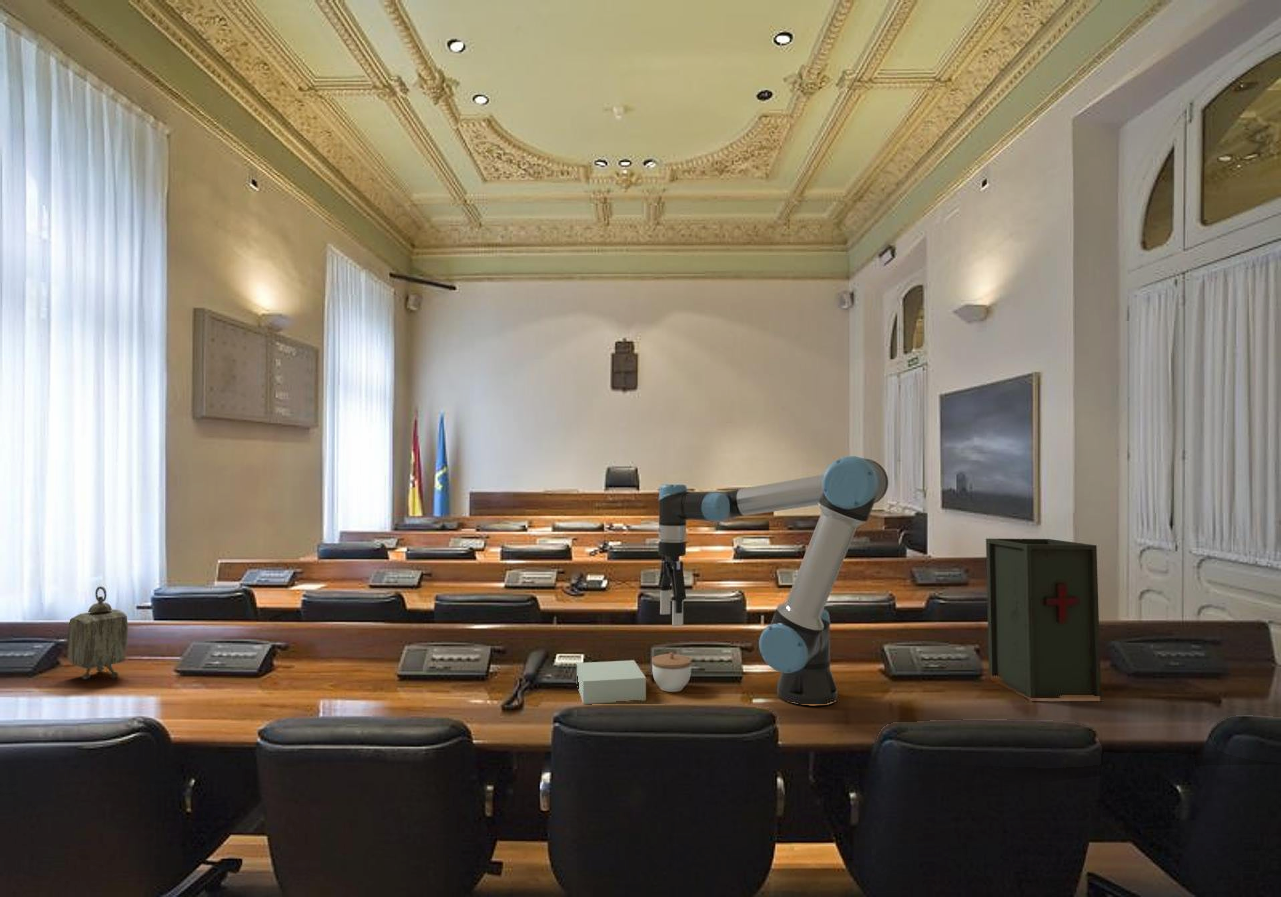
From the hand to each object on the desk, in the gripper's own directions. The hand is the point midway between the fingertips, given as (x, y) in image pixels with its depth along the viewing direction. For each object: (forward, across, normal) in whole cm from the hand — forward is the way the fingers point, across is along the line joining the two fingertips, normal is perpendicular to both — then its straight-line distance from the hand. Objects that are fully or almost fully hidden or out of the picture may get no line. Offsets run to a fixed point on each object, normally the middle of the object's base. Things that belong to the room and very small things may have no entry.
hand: (671, 619), depth 170 cm
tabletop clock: (+20, -37, -156) cm, 161 cm away
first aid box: (+18, +19, +99) cm, 103 cm away
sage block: (+19, 0, -16) cm, 25 cm away
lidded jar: (+18, 0, 0) cm, 19 cm away
